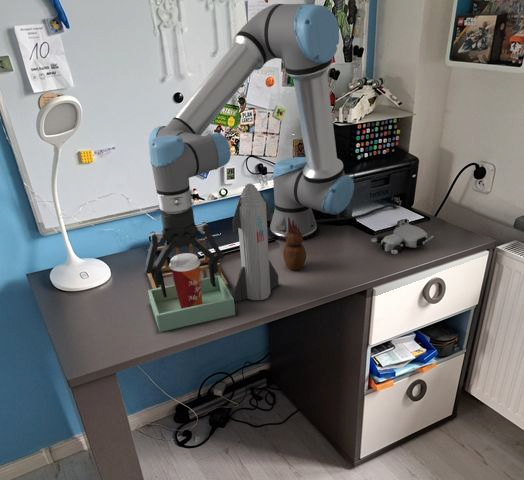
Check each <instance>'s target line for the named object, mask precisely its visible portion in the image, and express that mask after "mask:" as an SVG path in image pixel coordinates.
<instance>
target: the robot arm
mask: <svg viewBox="0 0 524 480" xmlns="http://www.w3.org/2000/svg"><path fill="white" fill-rule="evenodd" d="M338 24H339V23H338V21H337V18H336V17H335V15H334V13H333V12H332V11H331V10H330V9H329V8H328V7H327V6H325V5H322V4H315V3H311V2H308V3H289V4H288V3H273V4H271V5H269V6H266V7H265V8H263V9H261V10H260V11H258V13H256V14H255V15H254V16H252V17H251V18H250V19H249V20H248V21H247V22H246V23H245V24H244V25H243V26H242V27H241V28H240V30H239V31H238V32H237V33H235V36H234V37H233V38H232V41H231V45H232V47H230V48H229V50H227V53H225V55H223V57H222V58H221V59H220V61H219V62H218V63H217V64H216V66H215V67H214V68H213V69H212V70H211V72H210V73H209V74H208V75H207V76H206V78H205V79H204V80H203V81H202V83H201V84H200V85H199V86H198V87H197V89H196V90H195V91H194V93H192V95H191V96H190V97H189V98H188V100H187V101H186V102H185V103H184V105H183V106H182V107H181V108H180V110H179V111H178V112H177V113H176V114H175V115H174V117H173V118H172V119H171V120H170V121H169V122H168V123H167V125H159V126H157V127H154V128H153V129H152V130H151V131H150V133H149V136H148V147H149V149H148V150H149V151H148V152H149V157H150V158H149V159H150V160H149V161H150V165H151V168H152V176H153V180H154V186H155V189H156V196H157V202H158V208H159V210H160V212H159V213H160V214H159V215H160V219H161V224H162V225H161V226H162V231H161V232H156V231H150V234H149V235H150V243H149V244H150V245H149V248H148V249H149V252H148V251H147V257H146V259H145V260H146V261H145V265H144V270H145V272H146V274H147V273H148V274H150V273H153V274H152V275H153V278H154V283H155V285H156V287H157V286H159V285H161V289H162V294H163V296H164V298H165V297H167V295H166V289H165V286H166V283H165V278H163V274H164V273H163V272H162V271H161V269H162V267H164V266H165V264H164V263H165V261H166V260H167V261H168V258H169V256H170V254H171V253H173V250H174V249H176V248H179V249H180V248H182V247H189V245H190V244H191V243H192V246H194V247H195V248H196V249H197V250H199V251H200V252H201V253H202V254H203V256H204V255H206V256H207V257H208V258H209V260H208V263H207V265H208V267H209V269H208V273H209V277H210V282H211V284H212V286H213V287H216V283H215V276H216V275H215V274H217V273H218V266H217V263H219V260H222V259H225V258H224V257H225V256H224V254H223V252H222V250H221V249H220V247H219V245H218V244H217V242H216V240H215V239H214V238H213V236H212V234H211V232H210V227H209V226H210V225H208V224H207V222H206V221H203V222H201V224H197V225H196V222H195V214H194V208H193V207H192V205H193V201H192V194H191V186H190V178H193V177H196V176H200V175H203V174H205V173H208V172H211V171H214V170H215V171H217V170H218V169H219V168H221V167H224V166H226V165H228V163H229V162H230V160H231V155H232V153H231V145H230V143H229V140H228V139H227V137H226V136H225V135H224V134H222V133H219V132H215V133H214V132H213V133H208V134H206V135H203V133H204V132H206V130H207V129H208V128H209V127H210V125H211V124H212V123H213V121H214V120H215V119H216V118H217V117H218V115H219V114H220V113H221V112H222V110H223V109H224V108H225V107H226V106H227V104H228V103H229V102H230V101H231V100H232V98H233V97H234V96H235V94H237V92H238V91H239V89H241V87H242V86H243V85H244V83H245V82H246V81H247V79H248V78H249V77H250V76H251V75H252V73H254V71H258V70H259V71H260V70H261V69H262V68H263V67H264V66H265V64H267V62H269V61H272V60H275V59H280V60H283V64H284V70H285V74H286V75H287V76H289V77H290V78H292V80H293V86H294V93H295V98H296V99H295V100H296V105H297V111H298V116H299V123H300V128H301V136H302V141H303V147H304V148H303V149H304V155H305V156H294V157H289V158H284V159H282V160H279V161H277V162H276V163H275V164H274V165H273V173H272V174H273V175H272V181H273V182H272V183H273V197H274V198H273V199H274V211H273V215H272V217H271V221H270V226H269V229H270V230H269V231H270V234H271V236H272V237H274V238H276V239H279V240H283V241H286V234H287V233H288V217H289V219H290V222H291V226H292V220H294V226H295V225H297V228H299V230H300V232H301V233H302V237H303V240H305V239H309V238H311V237H313V236H314V235H316V233H317V228H318V225H317V224H319V223H327V222H328V223H329V222H338V221H346V220H353V219H358V218H363V217H366V216H368V215H369V216H370V215H371V214H373V213H374V212H378V211H382V210H385V209H387V208H393V209H397V208H398V207H397V205H395V204H391V203H390V204H386V205H383V206H380V207H377V208H374V209H372V210H369V211H367V212H365V213H362V214H357V215H352V216H346V217H347V218H343V217H336V218H337V219H335V218H327V219H318V220H317V219H315V218H316V217H315V216H314V213H313V210H315V211H319V212H321V213H323V214H329V215H338V214H340V213H342V212H343V211H344V210H345V209H346V208H347V207H348V205H349V204H350V202H351V200H352V199H353V195H354V191H355V182H354V179H353V177H351V176H350V175H349V174H345V168H344V163H343V161H342V160H341V159H339V158H338V155H337V147H336V137H335V130H334V121H333V112H332V105H331V97H330V87H329V80H328V70H329V68H330V67H331V65H332V63H333V58H334V56H335V55H336V53H337V51H338V45H339V43H340V29H339V25H338ZM198 232H200V234H202V235H204V236H205V237H206V238H205V239H207V241H208V242H209V244H210V246H211V248H212V249H213V250H214V252H215V253H213V252H211V250H210V249H209V248H207V246H206V247H205V246H204V245H203V244H202V242H199V241H198V238H197V237H196V236H197V234H198ZM162 239H164V240H165V242H164V245H163V246H164V248H163V249H162V250H160V253H159V255H158V257H157V259H156V256H157V252H158V251H157V247H159V243H160V242H161V241H162ZM174 247H175V248H174ZM155 259H156V260H155ZM153 263H154V266H153Z"/></svg>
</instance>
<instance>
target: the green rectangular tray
mask: <svg viewBox="0 0 524 480" xmlns="http://www.w3.org/2000/svg"><path fill="white" fill-rule="evenodd" d="M200 279H201V292H202V304H201V305H196V306H192V307H187V308H183V309H181V307H180V303H179V299H178V295H177V291H176V287H175V284H171V285H165V289H166V295H167V297H165V298H164V296H163V294H162V289H161V287H160V286H159V287H156V288H155V289H152V288H151V289H148V290H147V293H148V298H149V302H150V307H151V310H152V313H153V315H154V316H153V317H154V319H155V323H156V326H157V329H158V331H159V333H163V332H167V331H171V330H175V329H181V328H183V327H188V326H192V325H197V324H201V323H206V322H210V321H215V320H219V319H223V318H228V317H232V316H236V307H235V297H234V296H233V295H232V293H231V291H230V290H229V287H228V288H227V287H226V285H225V283H224V281H223V280H222V278H221V276H220V275H217V274H216V275H215V283H216V287H213V286H212V284H211V282H210V276H209V277H208V276H207V278H200Z"/></svg>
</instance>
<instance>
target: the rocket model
mask: <svg viewBox="0 0 524 480" xmlns="http://www.w3.org/2000/svg"><path fill="white" fill-rule="evenodd" d="M271 221H272V208H271V207H270V205H269V203H268V201H267V200H266V198H265V196H264V194H263V192H262V191H259V189H258V188H257V187H256V185H254V184H253V183H247V184H246V185H244V188H243V189H242V191H241V194H240V197H239V198H238V199H237V203H236V208H235V212H234V214H233V218H232V220H231V222H232V233H233V234H234V233H236V232H238V240H239V241H238V242H239V251H240V261H241V262H240V263H241V267H240V271H239V273H238V277H237V281H236V285H235V286H234V290H233V295H234V296H233V298H234V303H237V302H240V301H243V300H246V299H249V300H251V301H263V300H267V299H268V298H269V296H270V295H271V290H272V289H274V288H276V287H278V286H279V274H278V272H277V270H276V269H275V267H274V266H273V264H272V262H271V260H270V254H269V236H268V222H271Z"/></svg>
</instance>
